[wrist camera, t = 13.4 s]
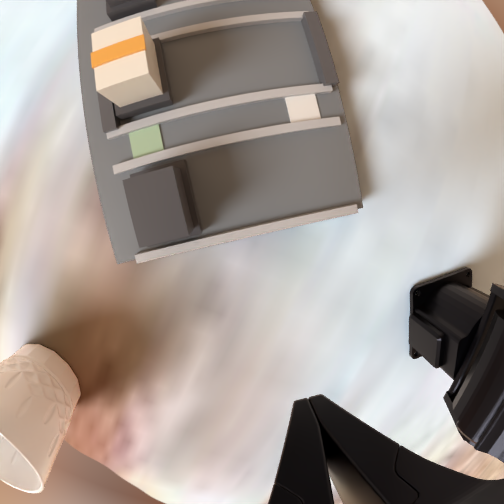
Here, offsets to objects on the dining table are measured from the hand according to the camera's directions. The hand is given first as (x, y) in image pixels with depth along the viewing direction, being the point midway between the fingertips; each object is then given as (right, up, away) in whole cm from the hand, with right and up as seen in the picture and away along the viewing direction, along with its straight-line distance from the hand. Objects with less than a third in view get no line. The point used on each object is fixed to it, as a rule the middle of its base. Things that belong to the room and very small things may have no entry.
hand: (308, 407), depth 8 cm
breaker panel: (-5, +15, +8) cm, 18 cm away
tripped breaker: (-8, +14, +7) cm, 17 cm away
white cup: (-19, -6, +12) cm, 23 cm away
